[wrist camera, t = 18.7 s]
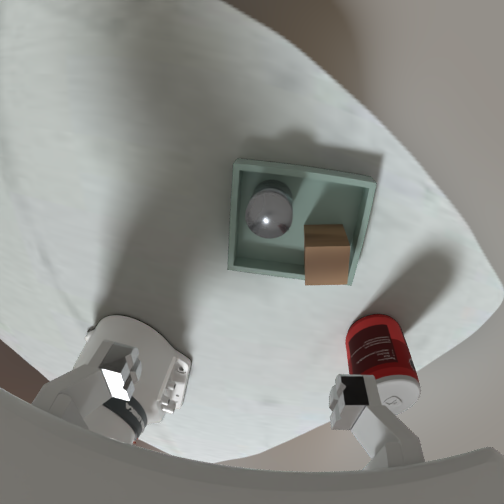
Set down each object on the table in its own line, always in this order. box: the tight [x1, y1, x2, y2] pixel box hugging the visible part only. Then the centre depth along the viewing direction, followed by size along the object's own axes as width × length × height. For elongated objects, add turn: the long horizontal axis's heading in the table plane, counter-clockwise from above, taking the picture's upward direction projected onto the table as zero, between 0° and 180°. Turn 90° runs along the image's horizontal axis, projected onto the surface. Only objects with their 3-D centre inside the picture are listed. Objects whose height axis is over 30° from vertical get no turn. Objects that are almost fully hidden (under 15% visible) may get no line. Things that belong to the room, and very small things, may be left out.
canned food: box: [346, 314, 421, 415], centre depth 32 cm, size 8×8×11 cm
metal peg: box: [245, 179, 293, 239], centre depth 28 cm, size 4×4×5 cm
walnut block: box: [304, 224, 350, 285], centre depth 29 cm, size 4×4×5 cm
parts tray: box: [227, 158, 377, 286], centre depth 30 cm, size 11×13×2 cm
